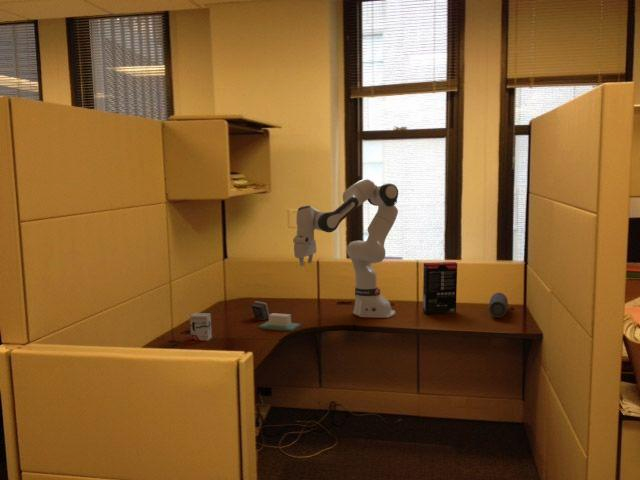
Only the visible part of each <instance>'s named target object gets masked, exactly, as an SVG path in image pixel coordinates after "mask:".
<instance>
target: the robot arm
mask: <svg viewBox="0 0 640 480" xmlns="http://www.w3.org/2000/svg"><path fill="white" fill-rule="evenodd" d="M398 197H399V189H398V186H396V185H395V183H390V182H386V183H385V182H384V183H382V184H378V185H377V184H375V182H374V181H373V180H372V179H370V178H364V179H361V180H358V181H357V182H355V183H353V184H352V185H350V186H349V187H348V188H346V190H344V192H343V193H342V201H343V203H342V204H340V205H339V206H338V207H337V208H336V209H334V210H333V211H327V212H326V211H321V210H318V209H316V208H314V207H313V206H312V205H304V206H301V207H300V206H299V208H298V209H297V210H296V226H297V229H296V235H295V236H294V237H293V239H292V242H293V243H294V244H293V253H294V258H296V259H298V261H299V265H300V266H301V267H304V266H305V261H304V260H305V259H304V258H306V257H308V259H307V263H308V264H311V263H313V257H314V254H316V253H317V243H316V239H315V230H317V231H320V232H321V231H323V232H324V233H333V232H334V231H336V230H337V228H338V227H339V226H340V224H341V222H342V221H343V220H345V218H347V217H348V216H349V215H350V214H351V213H353V212H354V211H355V210H356V209H357V208H358V207H360V206H361V205H362V204H364V203H365V202H366V201H367V202H368V203H369V204H370V205H371V206H374V207H375V206H376V207H378V209H377V212H376V214H374V217H373V218H372V219H371V222H370V223H369V225H368V227H367V233H368V237H367V239H366V240H359V239H358V240H353V241H350V242H349V243H348V245H347V247H346V255H347V256H348V258H350V261H351V262H352V265H353V268H354V274H355V287H354V297H355V299H354V300H355V303H354V308H353V313H352V314H353V315H355V316H358V317H360V318H377V319H378V318H380V319H381V318H382V319H383V318H385V319H387V318H392V317H393V316H395V315H396V310H393V309H392V306H391V303H390V301H389V299H387V298H386V297H384V296H382V294H381V288H379V287H378V286H377V272H376V270H375V269H374V267H373V266H372V264H378V263H382V262H383V261H384V259H385V258H386V249H385V241H386V239H387V237H388V235H389V232H390V231H391V229H392V228H393V225H394V224H395V221H396V219H397V216H398V213H399V210H398V208H397V206H396V204H397V202H398Z"/></svg>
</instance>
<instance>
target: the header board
mask: <svg viewBox="0 0 640 480" xmlns="http://www.w3.org/2000/svg"><path fill="white" fill-rule="evenodd" d="M301 326H302V324H301V323H296V322H291V325H289V326H287V327H285V326H274V325H269V320H268V321H266V322H264V323H262V324H260V325H258V327H259V329H265V330H275V331H285V332H293V331H295V330H297V329H298V327H299V328H301Z"/></svg>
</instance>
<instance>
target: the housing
mask: <svg viewBox="0 0 640 480" xmlns="http://www.w3.org/2000/svg"><path fill="white" fill-rule="evenodd" d="M269 314H270V315H269V319H268V321H269V325H274V326H285V327H287V326H289V325H291V323H292V314H291V313H289V314H288V313H276V312H273V313H269Z"/></svg>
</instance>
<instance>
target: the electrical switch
mask: <svg viewBox="0 0 640 480" xmlns="http://www.w3.org/2000/svg"><path fill="white" fill-rule="evenodd" d="M251 310H252V312H253V316H254V318H255V319H258V320H261V321H266V320H269V315H270V314H271V313H270V311H269V307H268V304H267V303H266V302H263V301H257V300H255V301H253V304H251Z"/></svg>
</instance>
